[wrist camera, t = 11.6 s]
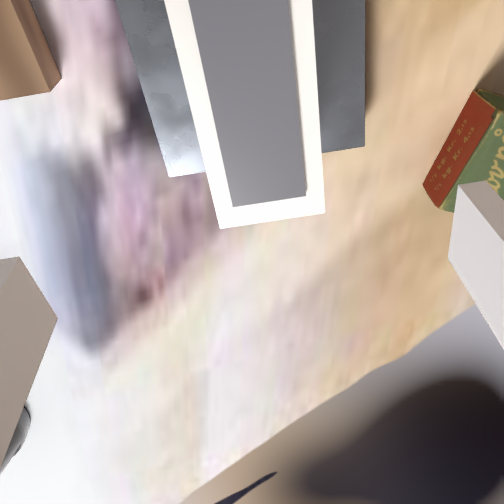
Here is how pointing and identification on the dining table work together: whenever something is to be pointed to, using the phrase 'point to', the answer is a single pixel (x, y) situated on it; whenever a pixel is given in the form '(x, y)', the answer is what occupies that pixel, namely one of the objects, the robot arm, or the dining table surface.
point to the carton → (470, 151)
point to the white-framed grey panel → (253, 104)
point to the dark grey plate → (175, 96)
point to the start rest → (24, 53)
